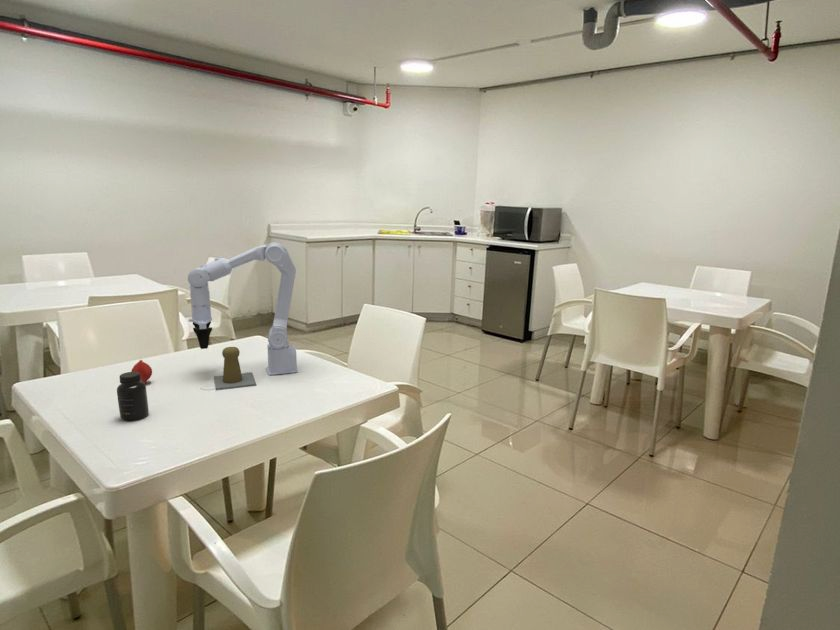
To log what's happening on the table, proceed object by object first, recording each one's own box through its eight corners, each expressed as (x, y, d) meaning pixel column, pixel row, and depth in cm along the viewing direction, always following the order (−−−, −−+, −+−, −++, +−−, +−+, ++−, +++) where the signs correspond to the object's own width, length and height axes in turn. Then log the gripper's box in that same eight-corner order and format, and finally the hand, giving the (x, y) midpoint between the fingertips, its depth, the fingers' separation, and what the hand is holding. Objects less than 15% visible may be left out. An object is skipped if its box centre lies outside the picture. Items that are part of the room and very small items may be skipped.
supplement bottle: (129, 410, 140) (125, 369, 138) (154, 411, 140) (150, 370, 138) (114, 421, 134) (109, 378, 131) (139, 422, 133) (135, 379, 131)
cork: (238, 383, 161) (236, 350, 159) (219, 383, 161) (217, 349, 159) (245, 377, 167) (243, 345, 165) (227, 376, 167) (225, 344, 165)
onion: (128, 385, 159) (125, 360, 158) (143, 379, 165) (141, 355, 163) (141, 388, 157) (139, 363, 156) (157, 382, 162) (154, 358, 161)
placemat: (252, 373, 172) (252, 372, 172) (256, 385, 162) (256, 383, 162) (214, 377, 168) (214, 376, 167) (215, 390, 157) (215, 388, 157)
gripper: (187, 301, 170) (190, 340, 173) (187, 310, 157) (190, 352, 160) (209, 300, 172) (212, 339, 175) (212, 308, 160) (214, 350, 163)
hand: (203, 345), depth 168 cm, fingers open, 7 cm apart
